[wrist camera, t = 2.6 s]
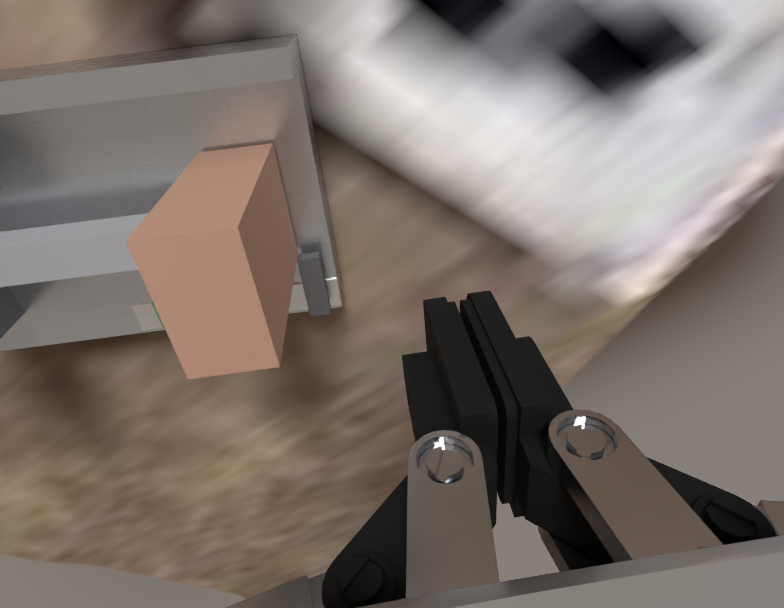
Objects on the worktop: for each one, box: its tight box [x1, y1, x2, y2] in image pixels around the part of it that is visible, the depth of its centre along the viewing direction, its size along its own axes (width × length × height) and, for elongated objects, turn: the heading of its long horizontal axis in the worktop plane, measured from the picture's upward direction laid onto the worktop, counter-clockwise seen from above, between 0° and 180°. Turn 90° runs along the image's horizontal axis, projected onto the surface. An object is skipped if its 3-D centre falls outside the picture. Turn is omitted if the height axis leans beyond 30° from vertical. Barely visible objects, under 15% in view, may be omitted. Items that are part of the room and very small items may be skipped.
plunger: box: [0, 143, 331, 379], centre depth 19 cm, size 15×8×8 cm, turn 96°
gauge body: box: [0, 34, 342, 351], centre depth 19 cm, size 18×12×10 cm, turn 96°
